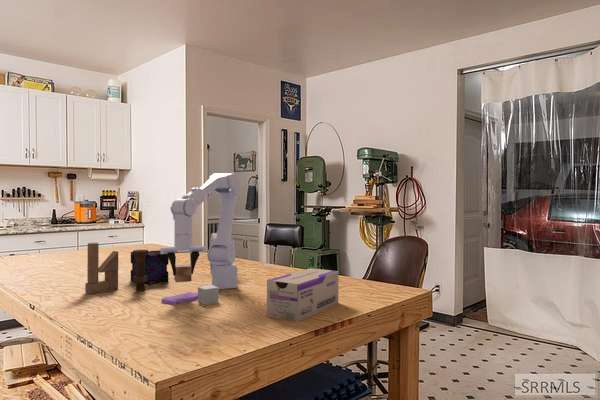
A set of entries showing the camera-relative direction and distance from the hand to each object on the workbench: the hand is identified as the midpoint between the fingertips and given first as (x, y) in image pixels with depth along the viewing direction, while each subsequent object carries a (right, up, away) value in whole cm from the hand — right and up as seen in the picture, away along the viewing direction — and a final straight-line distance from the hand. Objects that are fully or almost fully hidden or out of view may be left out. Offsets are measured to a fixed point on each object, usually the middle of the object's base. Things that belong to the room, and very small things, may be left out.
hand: (183, 274), depth 140 cm
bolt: (-19, -9, +13) cm, 25 cm away
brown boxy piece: (0, -2, +1) cm, 2 cm away
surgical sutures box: (+41, -9, -12) cm, 44 cm away
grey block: (+9, -9, -3) cm, 13 cm away
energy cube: (-22, -9, +30) cm, 38 cm away
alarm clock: (+4, -9, +45) cm, 46 cm away
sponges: (0, -9, 0) cm, 9 cm away
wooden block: (-33, -9, +12) cm, 37 cm away
